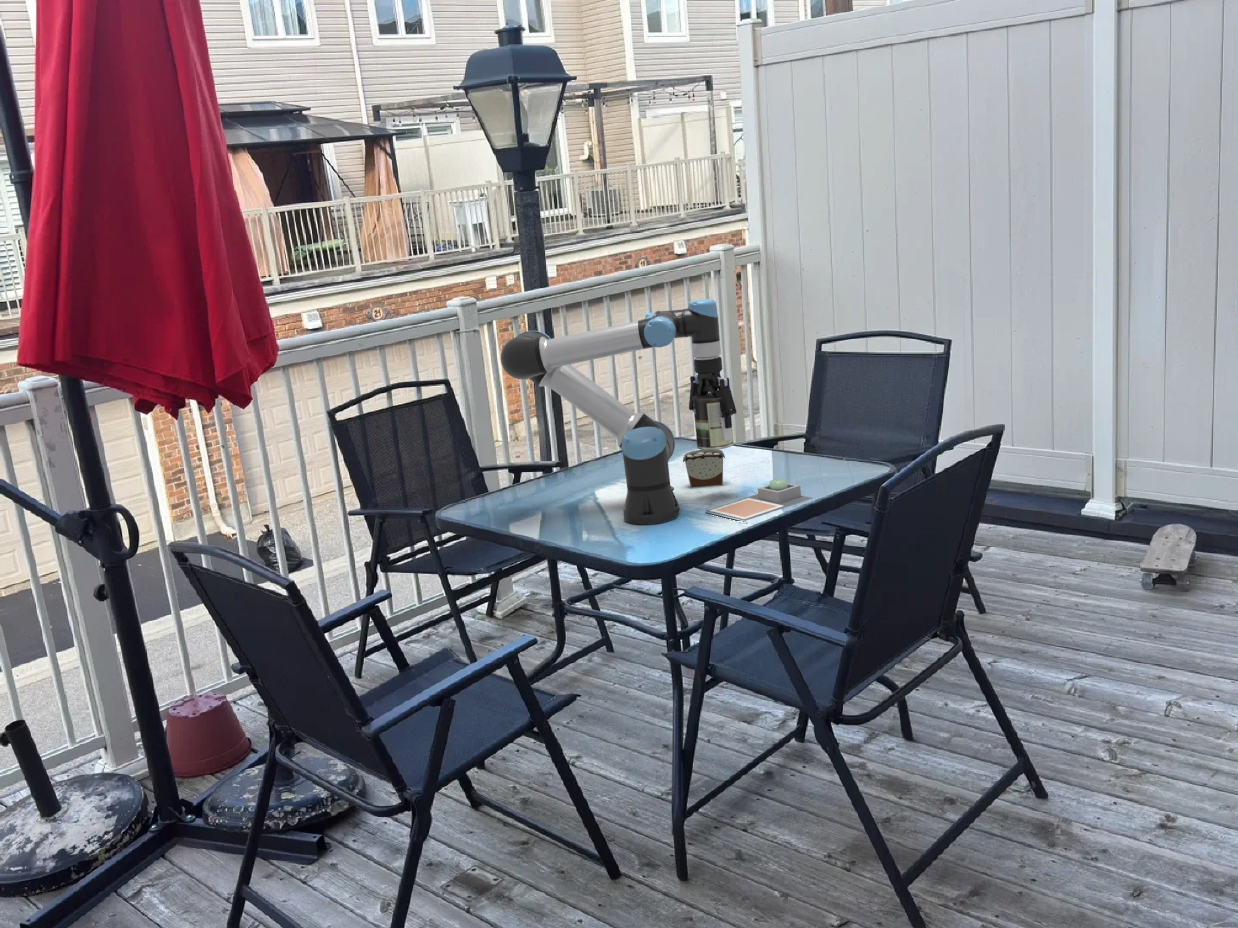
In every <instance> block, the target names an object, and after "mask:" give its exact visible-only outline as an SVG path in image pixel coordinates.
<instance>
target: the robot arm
mask: <svg viewBox="0 0 1238 928" xmlns="http://www.w3.org/2000/svg"><path fill="white" fill-rule="evenodd" d="M718 313H719V312H718V307H717V302H716V301H715V299H713V298H703V299H702V298H701V299H695V300H694V299H693V300H690V301H688V306H687V307H686V308H684V309H674V310H661V311H660V310H657V311H653V312H648V313H646V315H645V318H644V319H641V320H636V321H635V320H634V321H631V322H626V323H622V324H621V323H620V324H615V325H611V326H607V327H602V328H597V329H593V330H587V331H583V332H578V333H572V334H568V335H563V336H558V337H554V338H551V337H550V336H549V335H548V334H546V333H544V332H542V331H540V330H527V331H523V332H522V333H519V334H518V335H516V336H515V337H512V338H511V339H510V340H508V341H507V342H506V343H505V344H504V345H503V347H502V350H501V353H500V363H501V367H502V369H503V370H504V372H505V373H506V374H507V375H508V376H510V377H511V378H513V379H517V380H521V381H522V380H529V381H531V382H533V383H534V384H535V385H537V386H538V387H541V388H542V387H549V388H550V389H551V390H552V391H553V392H555V393H557V395H559V396H561V397H562V398H563V399H564V400H565V401H567V402H568V403H570V404H571V405H572V406H574V407H575V408H576V409H578V410H579V411H580V412H582V413H583V414H584V415H586V416H587V417H588V418H590V419H591V420H592V421H593V422H595V423H596V424H598V425H599V426H600V427H601V428H602V429H604V430H605V431H607V432H608V433H609V434H611V435H612V436H613V437H614V438H615V439H616V441H617V446H618V447H619V448H620V449H621V452H622V455H623V458H622V459H623V465H624V472H625V475H624V476H625V482H626V491H627V492H626V497H625V503H624V509H623V513H622V514H623V519H624V522H626V523H628V524H633V525H655V524H656V525H657V524H661V523H662V524H663V523H665V522H668V521H672V520H674V519H677V518H678V517H679V516H680V515H681V511H680V504H679V502H678V500H677V497H676V495H675V492H674V491H673V488H672V486H671V479H670V469H669V460H670V459H671V457H672V456H673V454H674V451H675V446H676V443H675V442H676V439H675V435H674V433H673V431H672V429H671V428H670V427H669V426H668V425H667V424H665V423H664V422H661V421H659V420H654V419H653V418H651V417H650V416H649V415H647V414H646V413H645V412H637V413H636V412H634V411H633V410H631V408H629V407H628V406H626V405H625V404H624V403H622V402H621V401H619V400H618V399H617V398H615V397H614V396H613V395H612V394H610V393H609V392H608V391H606V390H605V389H604V388H603V387H601V386H600V385H598V384H597V383H596V382H594V381H593V380H592V379H590V378H589V377H588V376H586V374H584V373H582V371H580V370H578V368H576V367H574V366H573V365H574V364H578V363H583V362H587V361H592V360H596V359H601V358H602V359H603V358H606V357H612V356H616V355H622V354H626V353H631V352H635V351H641V350H646V349H652V348H663V347H667V346H669V345H670V344H672V342H673V341H674V339H680V338H681V339H682V338H689V337H690V338H691V345H692V346H691V347H692V356H693V358H694V359H693V367H694V372H695V374H696V375H692V376H690V377H689V380H690V390H689V401H688V410H689V411H692V412H693V413H694V407H693V400H692V397H693V396H695V395H698V396H703V395H707V394H708V393H710V392H711V394H712V395H713V396H714V397H715V398H720V397H722V398H723V402H720V411H721V413H722V416H721V427H722V438H723V441H726V440H730V439H732V432H731V428H732V429H733V421H732V420H731V418H732V416H733V415H736V414H737V407H736V405H735V401H734V398H733V394H732V390H731V386H730V384H731V383H730V378H729V377H725V378H724V377H722V376H721V372H722V370H723V361H722V357H721V354H722V350H721V337H720V336H721V335H720V323H719V314H718Z"/></svg>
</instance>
